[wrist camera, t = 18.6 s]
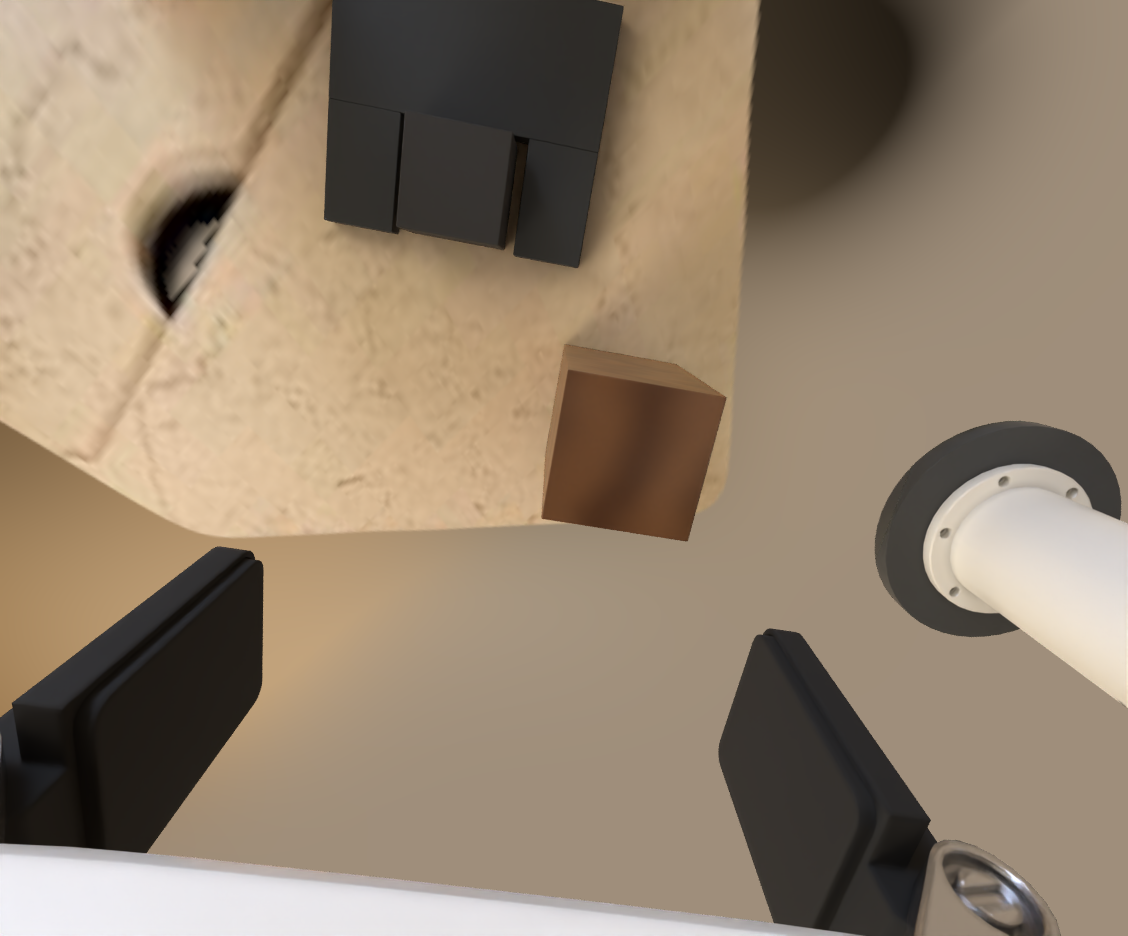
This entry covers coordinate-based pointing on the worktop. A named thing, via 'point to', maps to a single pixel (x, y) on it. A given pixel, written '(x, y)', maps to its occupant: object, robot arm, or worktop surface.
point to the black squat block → (456, 180)
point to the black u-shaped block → (472, 102)
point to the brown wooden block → (628, 444)
